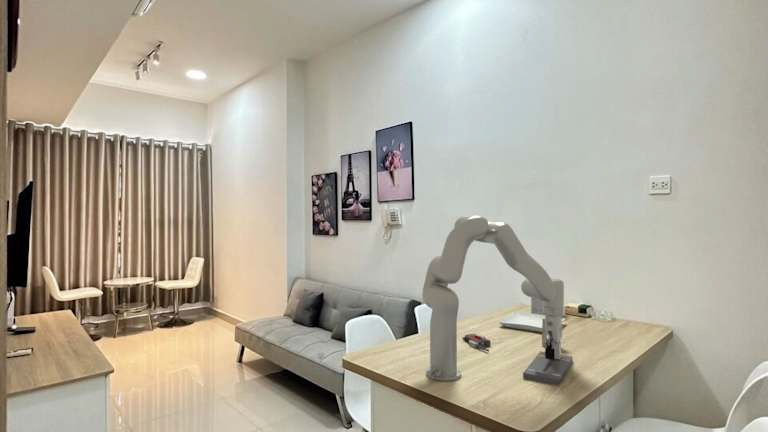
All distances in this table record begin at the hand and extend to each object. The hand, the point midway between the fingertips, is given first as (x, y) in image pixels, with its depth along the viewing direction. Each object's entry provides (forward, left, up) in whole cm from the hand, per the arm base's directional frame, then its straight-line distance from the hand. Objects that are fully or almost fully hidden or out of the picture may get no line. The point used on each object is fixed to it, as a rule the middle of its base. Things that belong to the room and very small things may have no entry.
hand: (552, 355), depth 158 cm
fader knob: (+1, 0, -1) cm, 1 cm away
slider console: (-7, 0, -3) cm, 8 cm away
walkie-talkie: (+7, +32, -4) cm, 33 cm away
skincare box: (+23, +5, -3) cm, 24 cm away
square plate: (+55, +20, -4) cm, 58 cm away
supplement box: (+85, +20, -4) cm, 87 cm away
